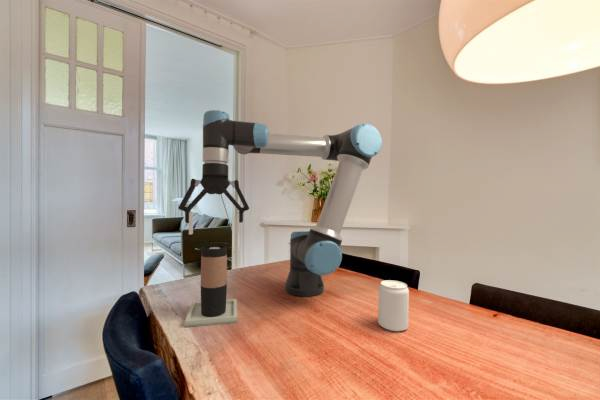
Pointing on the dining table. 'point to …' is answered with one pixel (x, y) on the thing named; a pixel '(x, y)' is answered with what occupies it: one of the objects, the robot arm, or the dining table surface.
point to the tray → (198, 319)
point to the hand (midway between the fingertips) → (214, 233)
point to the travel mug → (213, 280)
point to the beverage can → (393, 305)
